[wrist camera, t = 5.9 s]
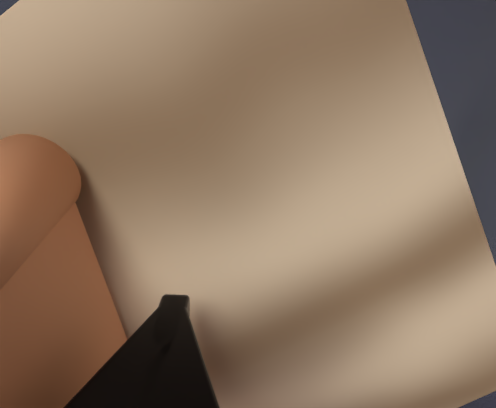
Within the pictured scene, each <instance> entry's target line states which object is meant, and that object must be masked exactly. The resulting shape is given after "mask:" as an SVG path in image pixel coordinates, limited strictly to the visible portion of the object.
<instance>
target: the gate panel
mask: <svg viewBox="0 0 496 408" xmlns="http://www.w3.org/2000/svg"><path fill="white" fill-rule="evenodd" d="M80 191H81V176H80V173H79V170H78V168H77V165H76V164H75V162H74V160H73V159H72V158H71V156H70V155H69V154H68V153H67V152H66V151H65V150H64V149H63V148H61V147H60V146H59V145H57V144H56V143H54V142H52V141H50V140H48V139H46V138H43V137H40V136H37V135H31V134H15V135H11V136H8V137H5V138H3V139H1V140H0V408H63V407H64V406H65V405H66V404H67V403H68V402H69V401H70V400H71V399H72V398H73V397H74V396H75V395H76V394H77V393H78V392H79V390H80V389H81V388H82V387H83V386H84V385H85V384H86V383H87V382H88V381H89V380H90V379H91V378H92V377H93V376H94V375H95V374H96V372H97V371H98V370H99V369H100V368H101V367H102V366H103V365H104V364H105V363H106V362H107V361H108V360H109V359H110V358H111V357H112V355H113V354H114V353H115V352H116V351H117V350H118V349H119V348H120V347H121V346H122V345H123V344H124V343H125V342H126V341H127V337H126V334H125V332H124V329H123V326H122V324H121V321H120V319H119V316H118V313H117V311H116V308H115V305H114V303H113V300H112V298H111V295H110V292H109V290H108V287H107V284H106V282H105V279H104V276H103V274H102V271H101V269H100V266H99V263H98V261H97V258H96V255H95V253H94V250H93V247H92V245H91V242H90V240H89V237H88V234H87V232H86V229H85V226H84V224H83V221H82V219H81V216H80V213H79V211H78V208H77V205H76V203H75V202H76V201H77V199H78V197H79V194H80Z"/></svg>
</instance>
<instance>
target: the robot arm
mask: <svg viewBox="0 0 496 408" xmlns="http://www.w3.org/2000/svg"><path fill="white" fill-rule="evenodd" d="M63 408H220V407H219V404H218V401H217V398H216V395H215V392H214V389H213V386H212V383H211V380H210V377H209V374H208V371H207V368H206V365H205V362H204V359H203V356H202V353H201V350H200V347H199V344H198V341H197V338H196V335H195V332H194V329H193V326H192V323H191V320H190V298H189V296H188V295H177V294H165V295H163V296H162V298H161V300H160V303H159V306H158V308H157V309H156V310H155V311H154V312H153V313H152V314H151V315H150V316H149V317H148V318H147V319H146V321H145V322H144V323H143V324H142V325H141V326H140V327H139V328H138V329H137V330H136V331H135V332H134V333H133V334H132V335H131V336H130V337H129V339H128V340H127V341H126V342H125V343H124V344H123V345H122V346H121V347H120V348H119V349H118V350H117V351H116V352H115V353H114V354H113V355H112V357H111V358H110V359H109V360H108V361H107V362H106V363H105V364H104V365H103V366H102V367H101V368H100V369H99V370H98V371H97V372H96V374H95V375H94V376H93V377H92V378H91V379H90V380H89V381H88V382H87V383H86V384H85V385H84V386H83V387H82V388H81V389H80V390H79V392H78V393H77V394H76V395H75V396H74V397H73V398H72V399H71V400H70V401H69V402H68V403H67V404H66V405H65V406H64V407H63Z"/></svg>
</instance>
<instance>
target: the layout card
mask: <svg viewBox="0 0 496 408" xmlns="http://www.w3.org/2000/svg"><path fill="white" fill-rule="evenodd" d="M15 134H31V135H37V136H40V137H43V138H46V139H48V140H50V141H52V142H54V143H56V144H57V145H59V146H60V147H61V148H63V149H64V150H65V151H66V152H67V153H68V154H69V155H70V156H71V158H72V159H73V160H74V162H75V164H76V165H77V168H78V170H79V173H80V176H81V191H80V194H79V197H78V199H77V201H76V202H75V203H76V205H77V208H78V211H79V213H80V216H81V219H82V221H83V224H84V226H85V229H86V232H87V234H88V237H89V240H90V242H91V245H92V247H93V250H94V253H95V255H96V258H97V261H98V263H99V266H100V269H101V271H102V274H103V276H104V279H105V282H106V284H107V287H108V290H109V292H110V295H111V298H112V300H113V303H114V305H115V308H116V311H117V313H118V316H119V319H120V321H121V324H122V326H123V329H124V332H125V334H126V337H127V340H128V339H129V337H130V336H131V335H132V334H133V333H134V332H135V331H136V330H137V329H138V328H139V327H140V326H141V325H142V324H143V323H144V322H145V321H146V319H147V318H148V317H149V316H150V315H151V314H152V313H153V312H154V311H155V310H156V309H157V308H158V306H159V303H160V300H161V298H162V296H163V295H165V294H177V295H188V296H189V298H190V320H191V323H192V326H193V329H194V332H195V335H196V338H197V341H198V344H199V347H200V350H201V353H202V356H203V359H204V362H205V365H206V368H207V371H208V374H209V377H210V380H211V383H212V386H213V389H214V392H215V395H216V398H217V401H218V404H219V407H220V408H458V407H460V406H463V405H465V404H467V403H469V402H471V401H474V400H476V399H478V398H480V397H483V396H485V395H487V394H489V393H491V392H494V391H496V266H495V263H494V260H493V257H492V254H491V251H490V248H489V245H488V242H487V239H486V236H485V233H484V230H483V227H482V224H481V221H480V218H479V215H478V212H477V209H476V206H475V203H474V200H473V198H472V195H471V192H470V189H469V186H468V183H467V180H466V177H465V174H464V171H463V168H462V165H461V162H460V159H459V156H458V153H457V150H456V147H455V144H454V141H453V138H452V135H451V132H450V129H449V126H448V124H447V121H446V118H445V115H444V112H443V109H442V106H441V103H440V100H439V97H438V94H437V91H436V88H435V85H434V82H433V79H432V76H431V73H430V70H429V67H428V64H427V61H426V58H425V55H424V53H423V50H422V47H421V44H420V41H419V38H418V35H417V32H416V29H415V26H414V23H413V20H412V17H411V14H410V11H409V8H408V5H407V2H406V0H19V1H18V2H17V3H16V4H14V5H13V6H12V7H11V8H9V9H8V10H7V11H6V12H5V13H3V14H2V15H1V16H0V140H1V139H3V138H5V137H8V136H11V135H15Z"/></svg>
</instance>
